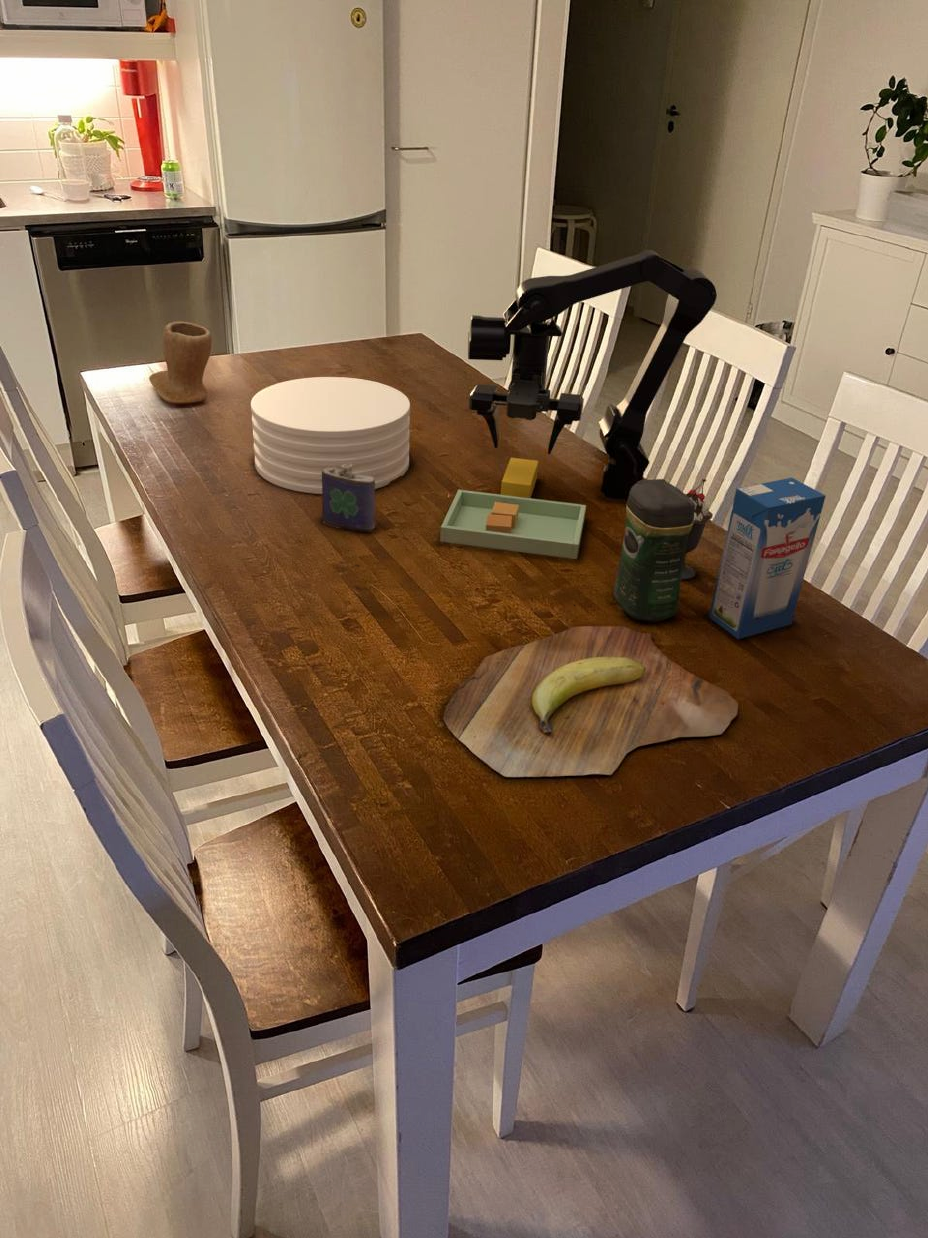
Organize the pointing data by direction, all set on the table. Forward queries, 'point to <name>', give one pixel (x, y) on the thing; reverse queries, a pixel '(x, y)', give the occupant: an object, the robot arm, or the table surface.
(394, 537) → the table surface
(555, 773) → the cutting board
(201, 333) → the brown boot
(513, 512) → the block
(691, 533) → the sundae
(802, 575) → the milk carton
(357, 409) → the plate stack
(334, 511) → the flask
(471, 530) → the tray
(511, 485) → the sponge
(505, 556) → the table surface
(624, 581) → the coffee jar
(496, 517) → the block
